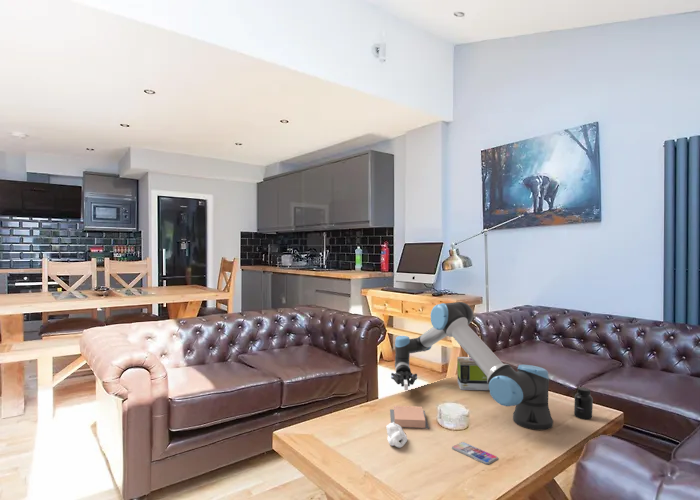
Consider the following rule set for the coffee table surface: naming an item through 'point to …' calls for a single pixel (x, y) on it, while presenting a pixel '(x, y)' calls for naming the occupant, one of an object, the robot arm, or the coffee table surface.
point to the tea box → (470, 375)
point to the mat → (408, 427)
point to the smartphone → (475, 453)
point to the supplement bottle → (583, 404)
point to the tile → (409, 416)
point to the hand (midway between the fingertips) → (406, 387)
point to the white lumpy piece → (396, 435)
